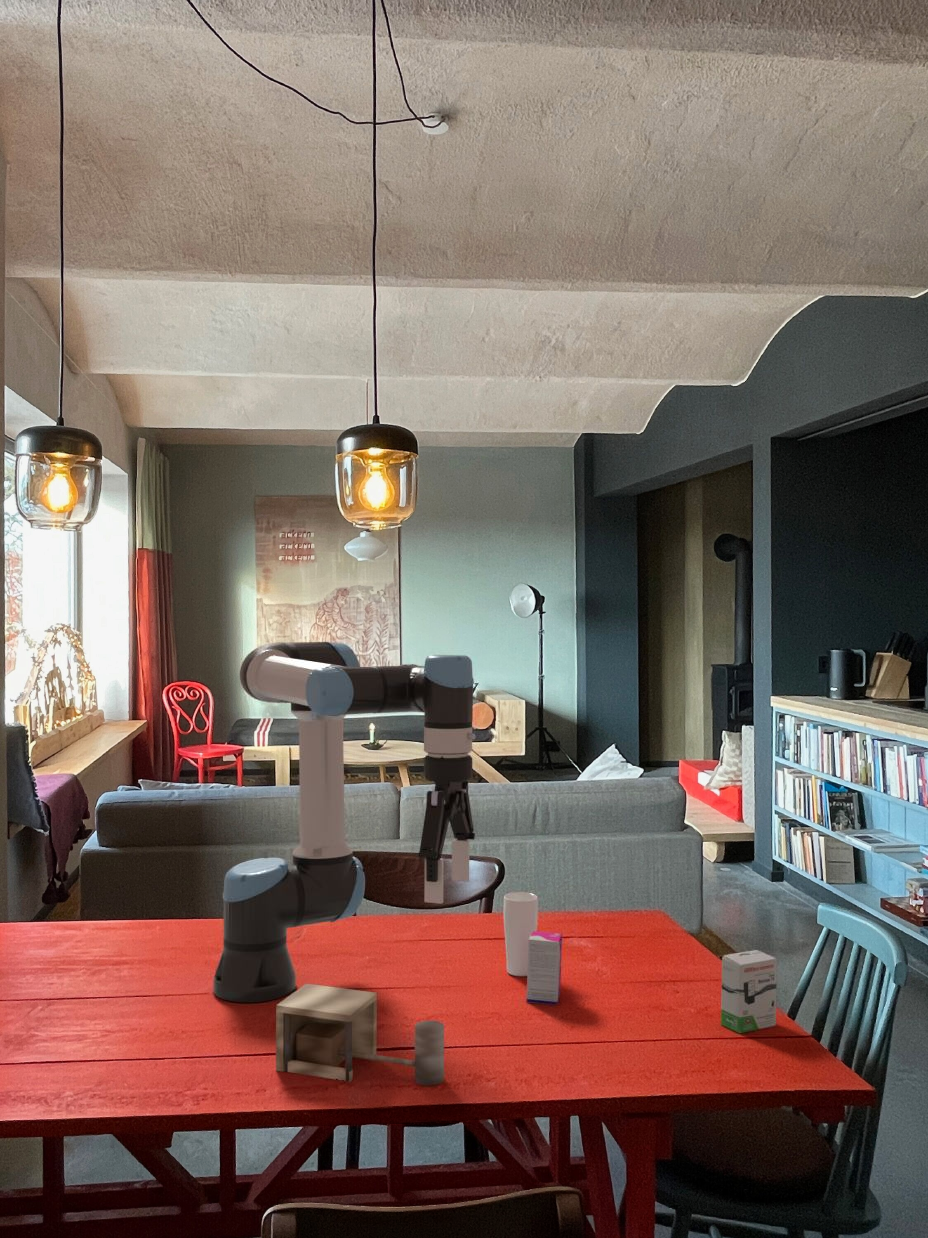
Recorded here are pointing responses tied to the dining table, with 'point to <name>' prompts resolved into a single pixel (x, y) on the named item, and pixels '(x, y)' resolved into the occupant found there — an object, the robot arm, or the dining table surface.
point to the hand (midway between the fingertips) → (447, 891)
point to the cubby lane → (325, 1008)
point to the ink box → (748, 991)
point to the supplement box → (544, 967)
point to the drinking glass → (519, 929)
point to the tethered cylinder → (329, 1050)
